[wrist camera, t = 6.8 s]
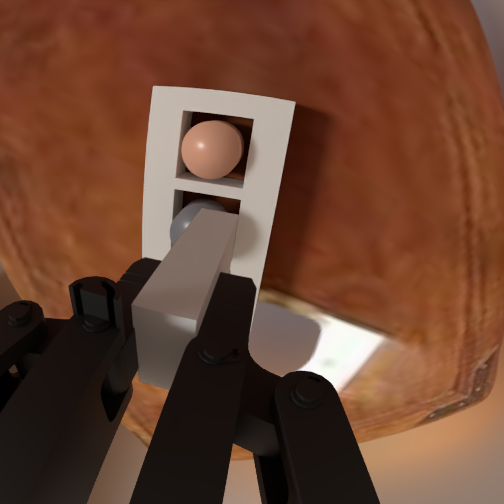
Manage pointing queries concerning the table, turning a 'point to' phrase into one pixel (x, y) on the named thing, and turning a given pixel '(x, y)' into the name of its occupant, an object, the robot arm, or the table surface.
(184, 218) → the button charcoal
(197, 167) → the button terracotta
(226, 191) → the board
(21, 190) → the table surface
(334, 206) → the table surface
